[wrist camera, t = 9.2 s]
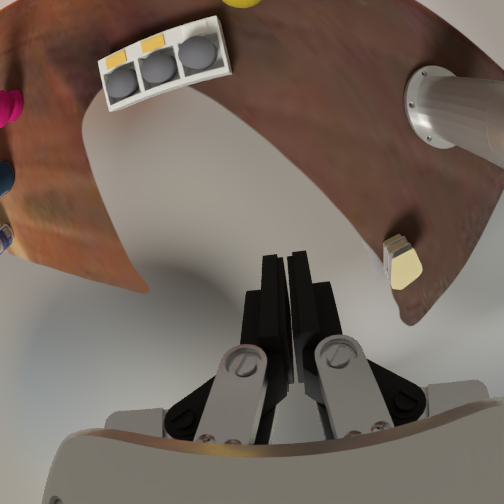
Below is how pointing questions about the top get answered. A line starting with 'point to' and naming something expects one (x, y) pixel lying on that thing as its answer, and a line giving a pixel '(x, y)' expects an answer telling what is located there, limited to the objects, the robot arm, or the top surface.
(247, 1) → the lemon
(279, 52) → the top surface
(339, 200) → the top surface
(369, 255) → the stacked layers on plate
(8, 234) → the pill bottle
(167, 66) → the middle button
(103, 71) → the button board
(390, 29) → the top surface
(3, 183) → the soda can
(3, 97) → the pepper mill
